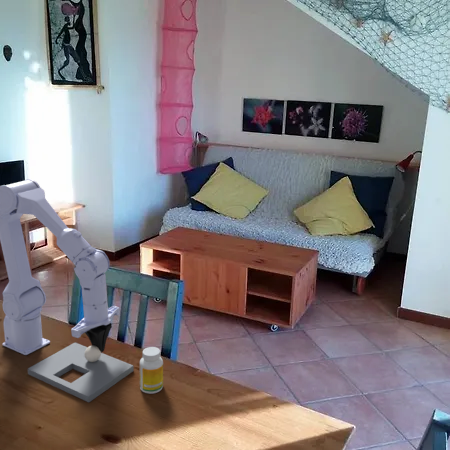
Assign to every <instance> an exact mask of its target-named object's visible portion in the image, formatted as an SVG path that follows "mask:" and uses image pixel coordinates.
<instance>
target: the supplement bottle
mask: <svg viewBox="0 0 450 450" xmlns="http://www.w3.org/2000/svg"><path fill="white" fill-rule="evenodd" d="M163 387H164V360H163V358H162V357H161V349H160V348H159V347H155V346H148V347H146V348H144V349H143V350H142V357H141V358H140V360H139V388H140V390H141V392H143V393H145V394H148V395H149V394H156V393H160V391H161V390H162V389H163Z"/></svg>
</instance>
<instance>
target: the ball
mask: <svg viewBox="0 0 450 450" xmlns="http://www.w3.org/2000/svg"><path fill="white" fill-rule="evenodd" d="M84 355H85V358H86V360H87V361H89V362H95V361H97V360H98V359H99V358H100V356H101V351H100V350H99V348H98V347H96V346H94V345H92V344H91V345H89V346H88V348H87V349H86V350H85V353H84Z"/></svg>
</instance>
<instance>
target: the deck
mask: <svg viewBox="0 0 450 450" xmlns="http://www.w3.org/2000/svg"><path fill="white" fill-rule="evenodd" d="M88 347H89V346H88ZM88 347H87V346H85V345H83V344H80V343H78V342H73V343H71V344H70V345H68V346H65V347H64V348H62V349H60V350H59V351H57V352H56V353H52V355H50V356H48V357H46V358H44V359H43V360H41V361H39V362H37V363H35V364H34V365H31V366H30V367H28V368H27V375H29V376H31V377H33V378H35V379H37V380H40V381H42V382H44V383H46V384H48V385H51V386H53V387H54V388H56V389H59V390H61V391H63V392H66V393H67V394H70V395H72V396H74V397H75V398H78V399H80V400H82V401H85V402H87V403H90V402H92V401H93V400H95V399H96V398H97V397H98V396H101V395H102V394H103V393H105V392H106V391H107V390H109V389H110V388H112V387H113V386H114V385H115V384H117V383H120V381H121V380H123V379H124V378H126V377H127V376H128V375H130V374H131V373H133V372H134V365H133V364H131V363H129V362H126V361H123V360H121V359H118V358H115V357H113V356H110V355H108V354H105V353H104V352H102V353H101V356H100V358H99V359H98V360H97V361H95V362H89V361H87V360H86V358H85V355H84V353H85V350H86V349H87V348H88ZM72 370H74V371H76V372H79V373H81V374H83V375H82V376H80V377H78V378H77V379H75V380H73V381H72V382H70V381H68V380H65V379H63V378H61V377H62V376H63V375H65V374H66V373H68V372H70V371H72Z"/></svg>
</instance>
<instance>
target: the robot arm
mask: <svg viewBox="0 0 450 450" xmlns="http://www.w3.org/2000/svg"><path fill="white" fill-rule="evenodd" d="M45 192H46V191H45V190H44V189H43V188H42V187H41V186H40V184H39V183H38V182H37V181H36V180H34V179H32V178H27V179H24V180H22V181H21V180H20V181H18V182H13V183H10V184H6V185H5V184H3V185H0V245H1V250H2V254H3V259H4V262H5V263H4V264H5V268H6V269H5V270H6V272H7V273H6V274H7V277H8V283H7V284H6V286H5V288H4V290H3V291H2V292H1V294H2V301H3V302H2V310H3V312H4V314H5V316H4V319H3V332H4V340H5V341H4V342H3V343H2V346H3V347H6V348H8V349H10V350H12V351H15V352H17V353H20V354H21V355H24V356H27V355H29V354H32V353H33V352H35V351H37V350H39V349H41V348H43V347H45V346H47V345H48V344H49V345H50V343H51V340H49V339H46V338H44V337H43V330H42V329H43V326H42V313H41V312H42V311H43V306H44V305H45V304H46V301H47V297H46V296H47V295H46V293H45V290H43V287H42V285H41V281H40V280H39V279H36V278H35V277H33V276H32V271H31V266H30V261H29V257H28V252H27V247H26V242H25V238H24V234H23V233H24V232H23V227H22V223H21V217H22V216H23V215H32V216H34V217H35V218H36V219H37V220H38V221H39V222H40V223H41V224H42V225H43V226H44V227H46V228H47V230H48V231H50V233H52V234H53V235H54V236H55V238H56V246H57V247H58V248H59V249H60V251H62V252H63V254H64V255H65V256H67V258H68V259H69V260H70V261H71V263H73V265H74V266H75V267H73V270H74V273H75V275H76V277H77V278H78V280H79V285H80V286H81V294H82V305H83V306H82V307H83V316H84V317H83V318H82V319H81V320H80V321H78V323H77V324H76V325H75V326H74V327H72V328H71V336H72V337H73V338H77V339H79V338H81V336H82V335H83V334H85V335H86V336H87V338H88V340H89V341H90V343H91V346H92V345H94V346H96V347H98V348H99V350H100V351H101V353H104V351H105V348H106V342H107V339H108V336H109V333H110V331H111V329H112V327H113V323H112V318H113V317H115V316H116V317H117V316H120V314H121V312H120V307H119V306H116V305H112V306H110V307H109V306H108V295H107V294H108V292H107V282H106V281H107V277H106V272H107V271H108V270H109V268H110V259H109V257H108V255H107V254H106V253H105V251H103V250H101V249H97V248H96V247H94V246H92V245H91V244H90V243H89V242H88V241H87V240H86V239H85V238H84V236H83V234H82V232H81V231H80V230H78V229H76V228H71V227H70V228H69V227H68V226H67V224H66V223H65V221H63V219H62V218H61V217H60V216H59V215H58V213H57V212H56V210H55V209H54V207H53V206H52V204H50V203H49V201H48V200H47V199H46V193H45Z"/></svg>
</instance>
